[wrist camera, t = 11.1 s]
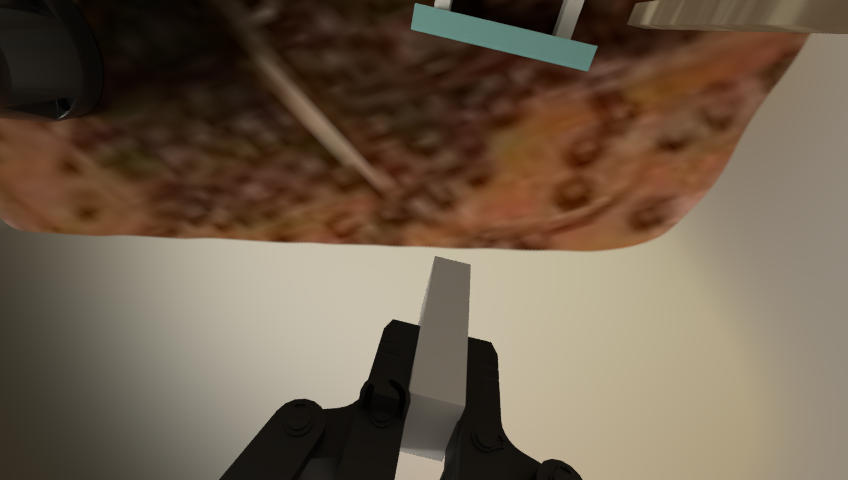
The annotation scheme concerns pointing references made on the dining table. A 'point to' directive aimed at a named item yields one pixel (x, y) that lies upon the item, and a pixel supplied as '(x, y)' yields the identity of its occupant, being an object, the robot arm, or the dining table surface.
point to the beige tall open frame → (743, 15)
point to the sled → (509, 34)
